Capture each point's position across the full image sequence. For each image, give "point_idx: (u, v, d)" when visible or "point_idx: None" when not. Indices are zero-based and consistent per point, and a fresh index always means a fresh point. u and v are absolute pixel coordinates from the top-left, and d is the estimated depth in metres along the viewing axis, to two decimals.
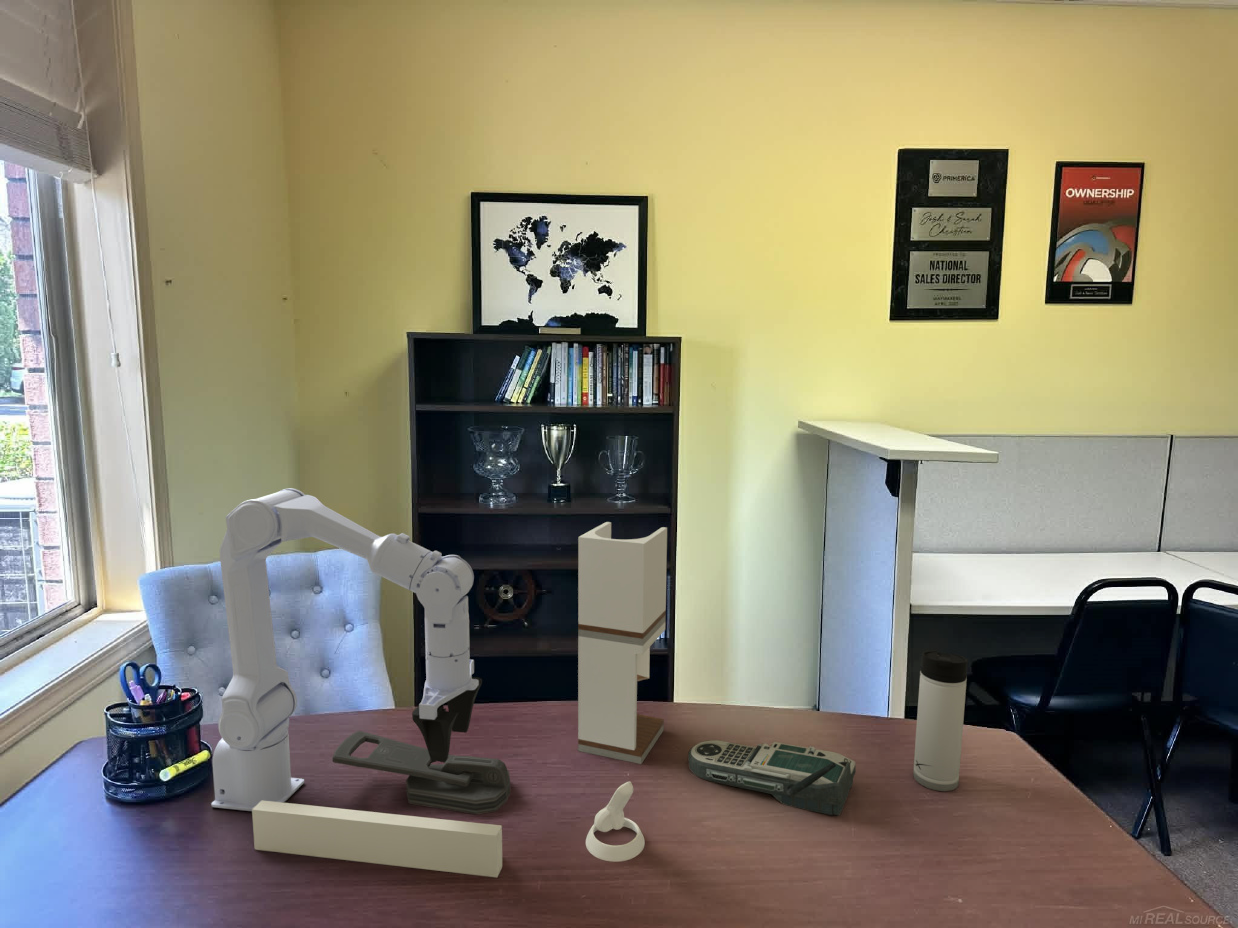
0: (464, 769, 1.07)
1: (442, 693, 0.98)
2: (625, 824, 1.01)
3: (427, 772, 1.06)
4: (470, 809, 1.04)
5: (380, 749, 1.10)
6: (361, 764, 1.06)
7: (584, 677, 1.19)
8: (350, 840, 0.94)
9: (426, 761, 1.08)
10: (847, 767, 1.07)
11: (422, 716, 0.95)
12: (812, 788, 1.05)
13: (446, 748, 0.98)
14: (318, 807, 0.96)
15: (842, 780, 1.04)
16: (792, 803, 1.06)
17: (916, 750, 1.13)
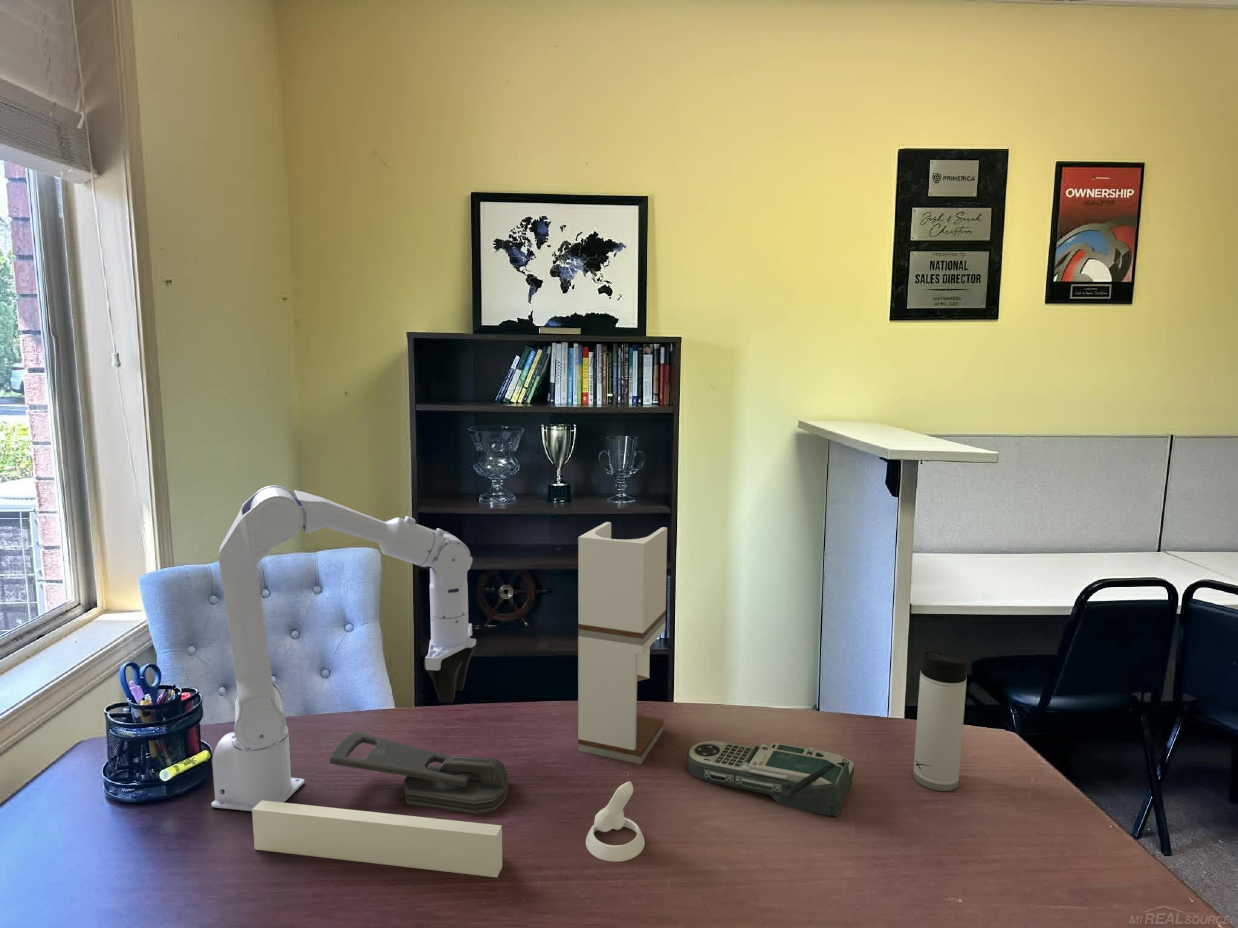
0: (462, 769, 1.07)
1: (445, 649, 1.14)
2: (625, 824, 1.01)
3: (425, 773, 1.06)
4: (468, 809, 1.04)
5: (377, 750, 1.09)
6: (359, 765, 1.06)
7: (584, 677, 1.19)
8: (350, 840, 0.94)
9: (424, 762, 1.08)
10: (845, 768, 1.07)
11: (428, 667, 1.11)
12: (810, 789, 1.04)
13: (452, 691, 1.16)
14: (318, 807, 0.96)
15: (840, 781, 1.04)
16: (790, 803, 1.06)
17: (916, 750, 1.13)
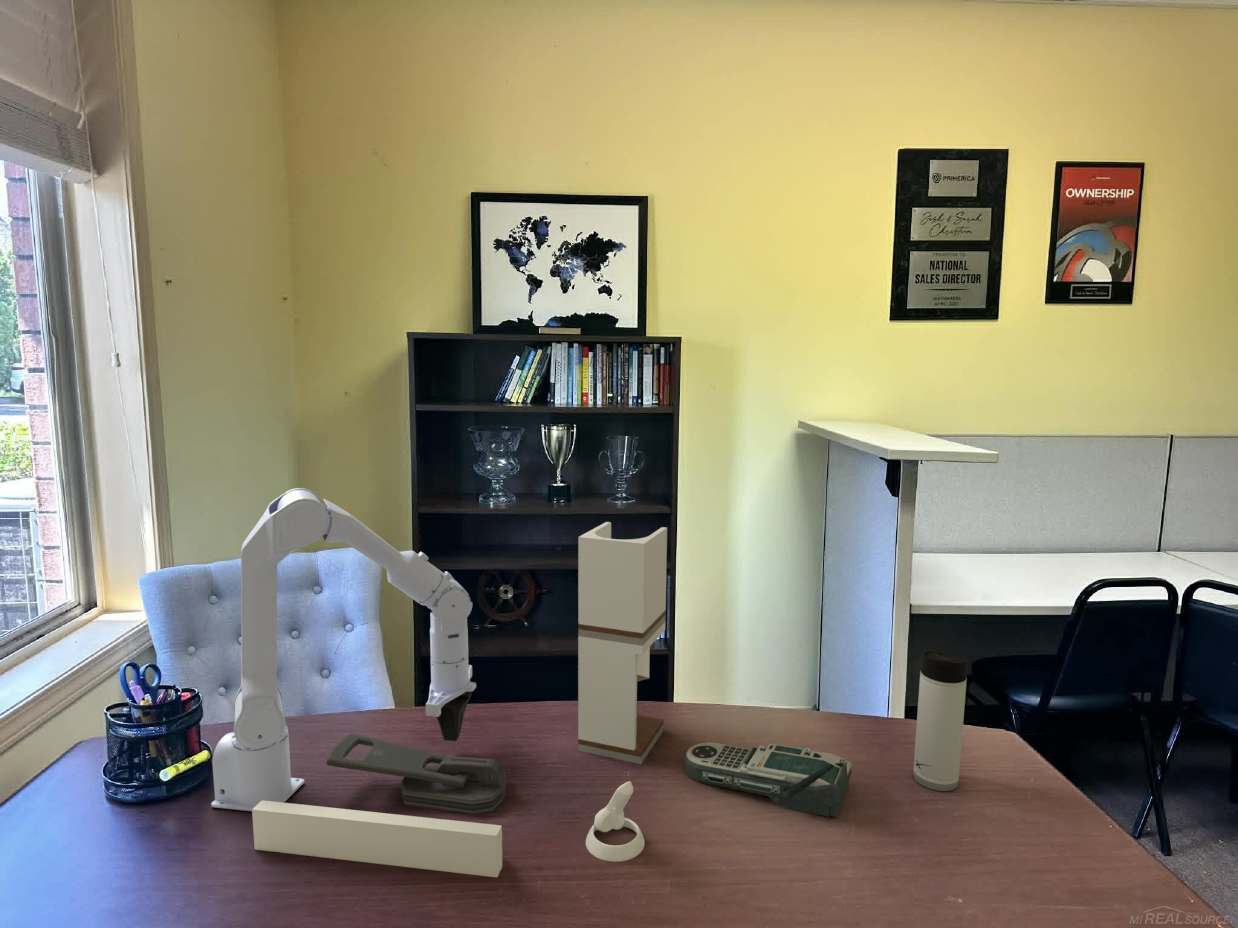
0: (460, 770, 1.07)
1: (445, 694, 1.15)
2: (625, 824, 1.01)
3: (423, 773, 1.06)
4: (467, 809, 1.04)
5: (374, 751, 1.09)
6: (356, 767, 1.06)
7: (584, 677, 1.19)
8: (350, 840, 0.94)
9: (421, 762, 1.08)
10: (844, 768, 1.07)
11: (428, 713, 1.11)
12: (809, 790, 1.04)
13: (457, 730, 1.18)
14: (318, 807, 0.96)
15: (839, 781, 1.04)
16: (789, 805, 1.06)
17: (916, 750, 1.13)
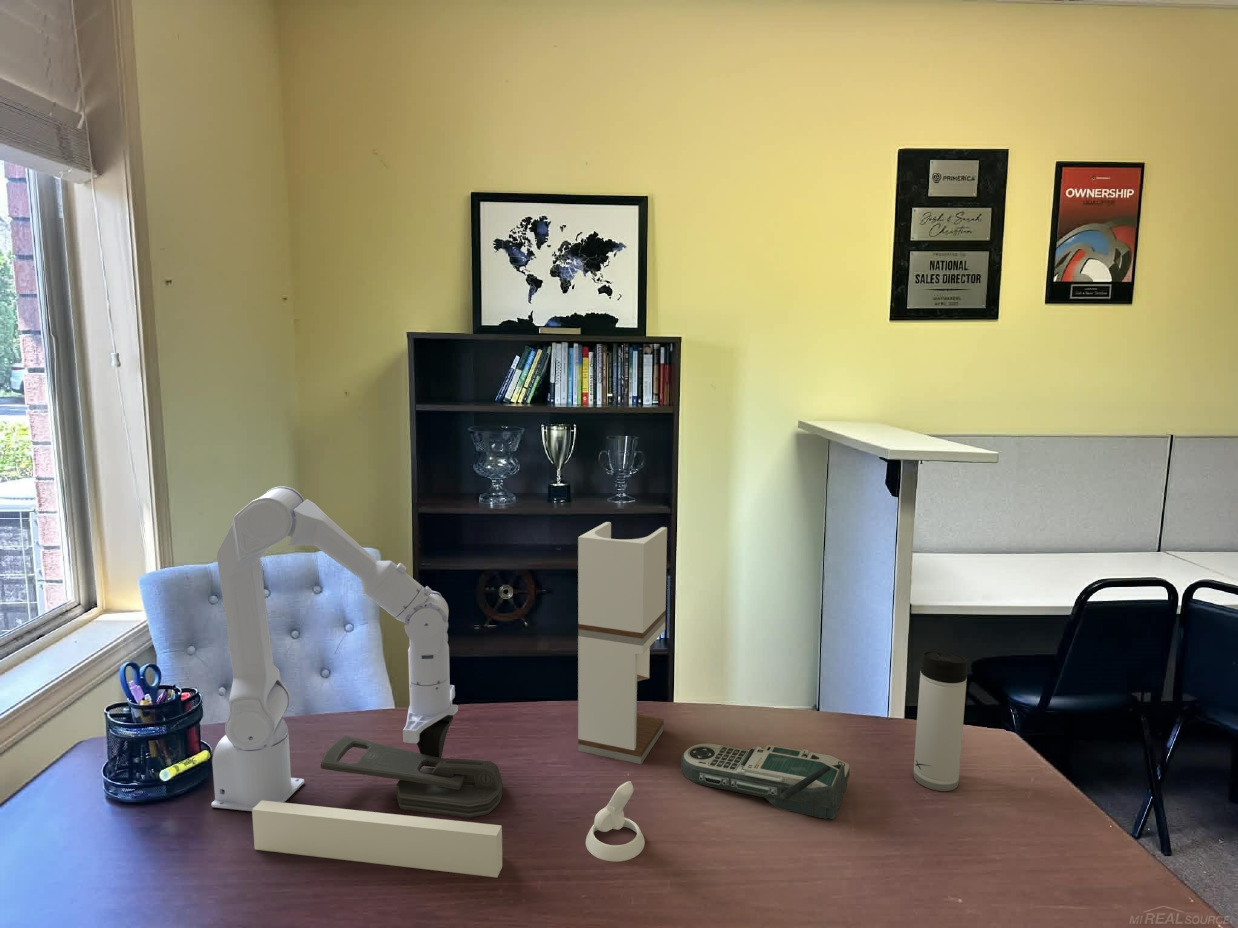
0: (456, 772, 1.06)
1: (424, 718, 1.07)
2: (625, 824, 1.01)
3: (418, 776, 1.05)
4: (463, 812, 1.03)
5: (369, 754, 1.08)
6: (350, 770, 1.05)
7: (584, 677, 1.19)
8: (350, 840, 0.94)
9: (416, 765, 1.07)
10: (841, 770, 1.06)
11: (405, 740, 1.04)
12: (806, 792, 1.04)
13: (438, 755, 1.11)
14: (318, 807, 0.96)
15: (836, 783, 1.03)
16: (786, 806, 1.05)
17: (916, 750, 1.13)
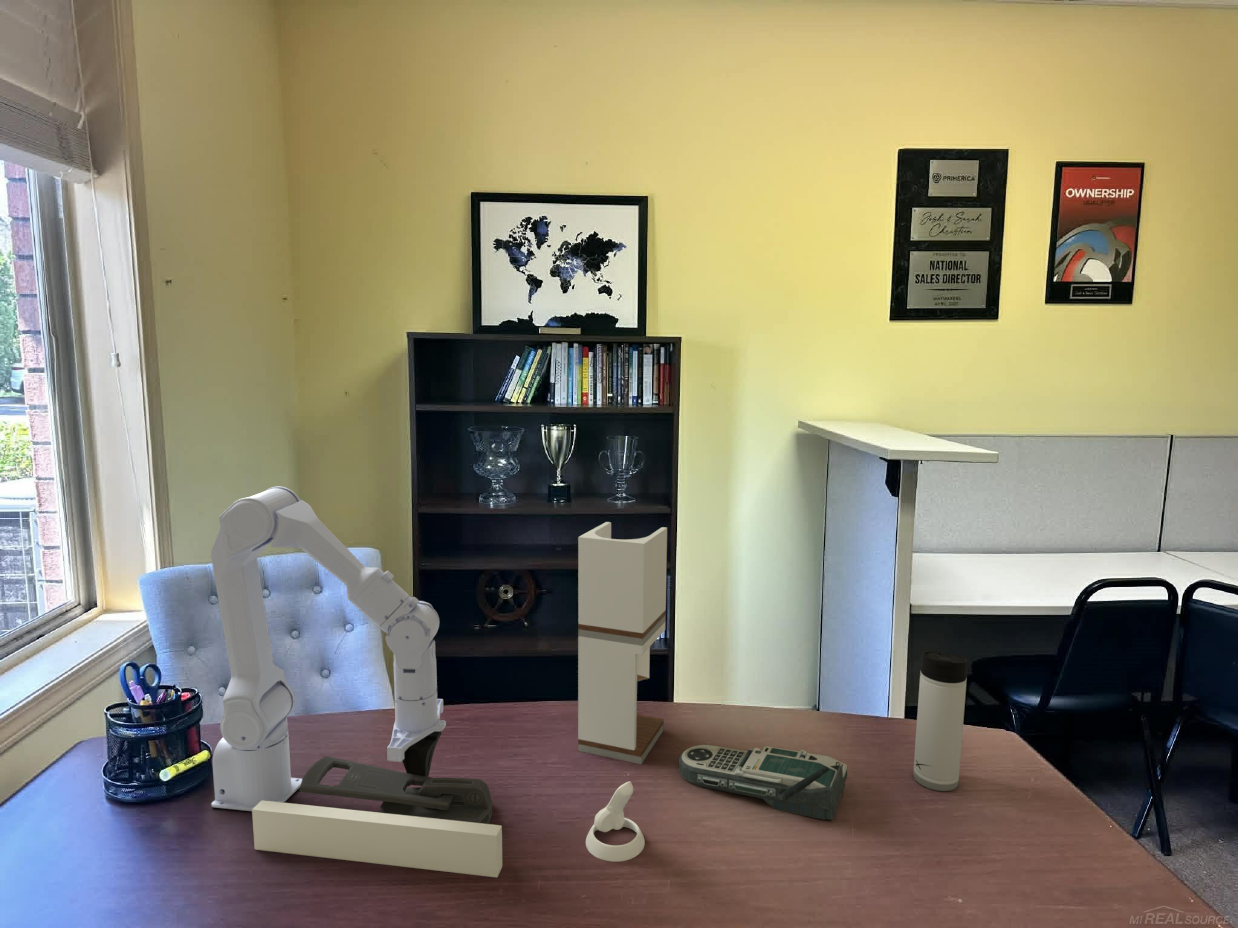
0: (443, 792, 1.02)
1: (410, 735, 1.03)
2: (625, 824, 1.01)
3: (404, 797, 1.00)
4: None
5: (351, 775, 1.03)
6: (332, 792, 0.99)
7: (584, 677, 1.19)
8: (350, 840, 0.94)
9: (402, 785, 1.02)
10: (839, 771, 1.06)
11: (390, 758, 0.99)
12: (804, 793, 1.04)
13: (424, 773, 1.06)
14: (318, 807, 0.96)
15: (835, 784, 1.03)
16: (784, 807, 1.05)
17: (916, 750, 1.13)
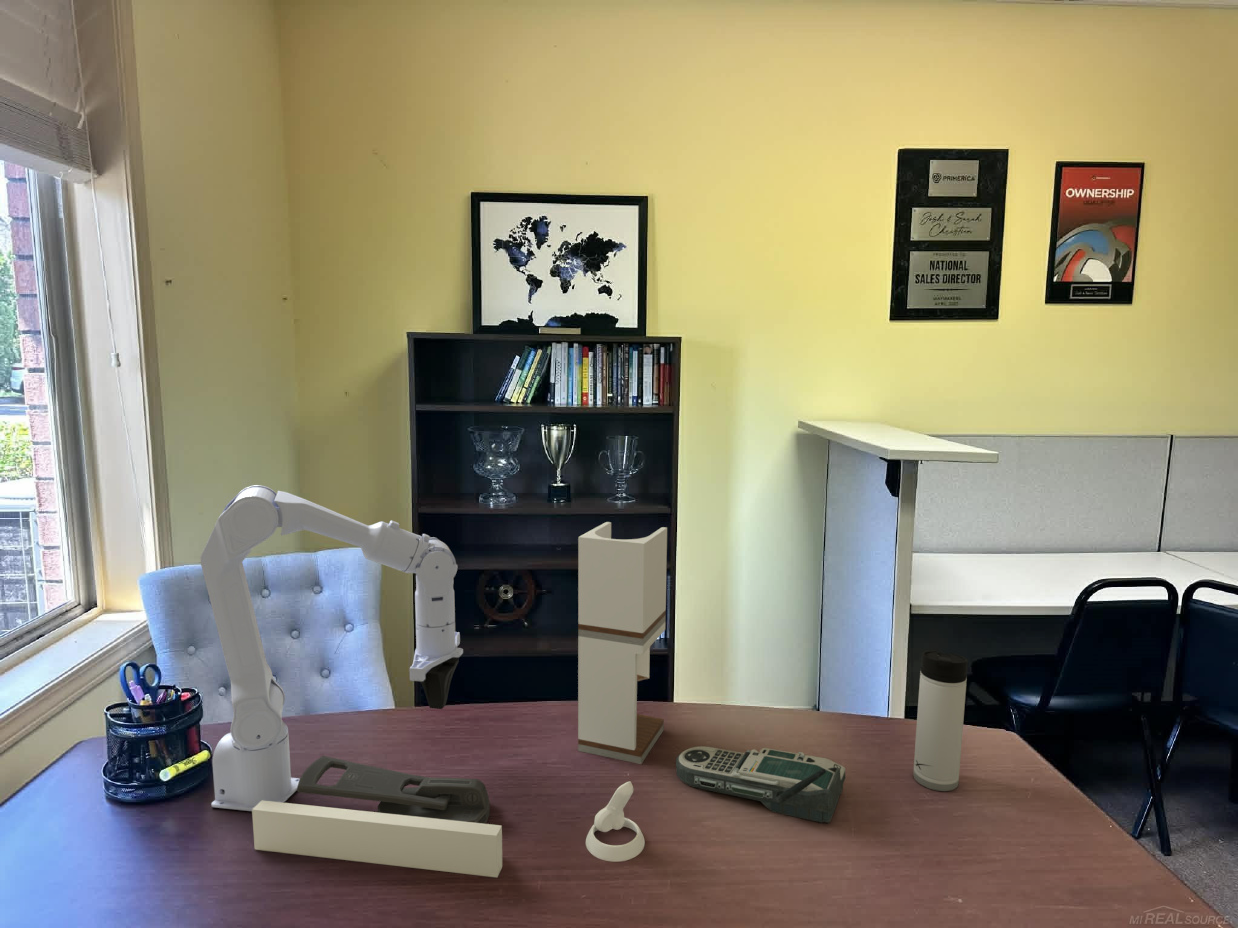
0: (441, 792, 1.02)
1: (430, 659, 1.11)
2: (625, 824, 1.01)
3: (401, 797, 1.00)
4: None
5: (348, 775, 1.03)
6: (329, 792, 0.99)
7: (584, 677, 1.19)
8: (350, 840, 0.94)
9: (399, 785, 1.02)
10: (837, 773, 1.06)
11: (412, 678, 1.07)
12: (801, 795, 1.03)
13: (443, 697, 1.14)
14: (318, 807, 0.96)
15: (832, 787, 1.02)
16: (781, 810, 1.05)
17: (916, 750, 1.13)
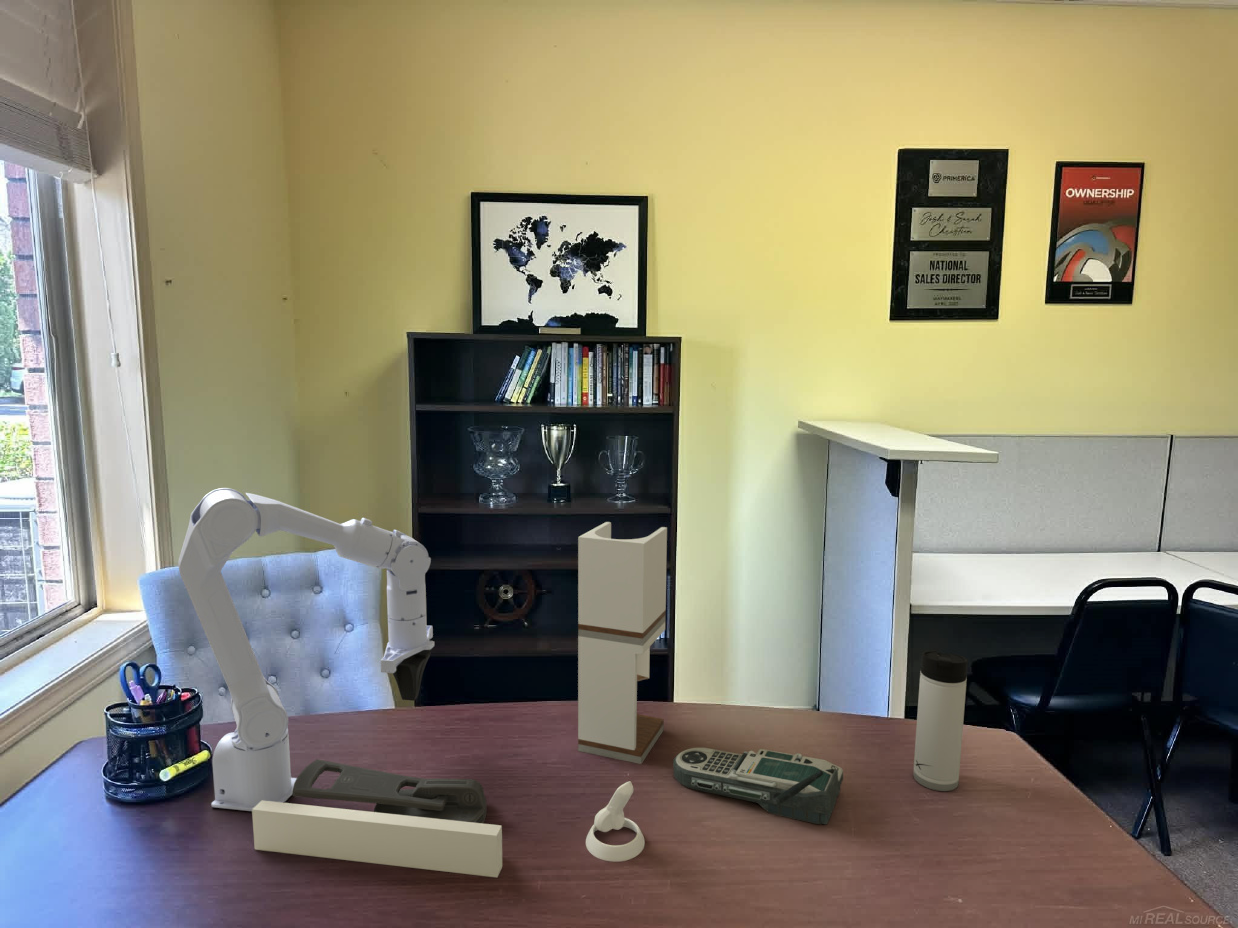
0: (438, 792, 1.01)
1: (401, 652, 1.13)
2: (625, 824, 1.01)
3: (398, 799, 1.00)
4: None
5: (343, 778, 1.02)
6: (325, 796, 0.99)
7: (584, 677, 1.19)
8: (350, 840, 0.94)
9: (395, 787, 1.02)
10: (834, 775, 1.05)
11: (383, 670, 1.10)
12: (798, 797, 1.03)
13: (415, 689, 1.16)
14: (318, 807, 0.96)
15: (829, 788, 1.02)
16: (779, 811, 1.04)
17: (916, 750, 1.13)
